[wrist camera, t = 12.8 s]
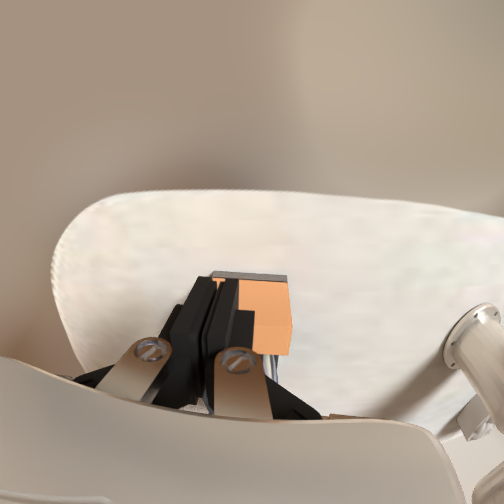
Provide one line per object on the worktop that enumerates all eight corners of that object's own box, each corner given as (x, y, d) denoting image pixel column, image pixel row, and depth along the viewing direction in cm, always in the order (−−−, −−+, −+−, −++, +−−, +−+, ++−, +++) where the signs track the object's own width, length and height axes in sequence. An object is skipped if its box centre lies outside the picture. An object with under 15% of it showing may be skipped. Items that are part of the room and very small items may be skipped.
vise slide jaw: (287, 282, 29) (292, 327, 21) (284, 307, 30) (288, 355, 22) (211, 277, 29) (192, 319, 21) (211, 302, 30) (194, 347, 22)
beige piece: (451, 423, 41) (463, 449, 33) (477, 386, 37) (494, 413, 29) (479, 413, 41) (491, 436, 32) (504, 377, 36) (520, 400, 28)
